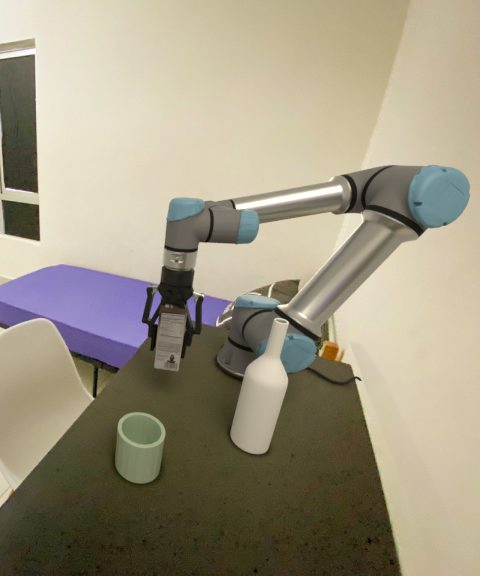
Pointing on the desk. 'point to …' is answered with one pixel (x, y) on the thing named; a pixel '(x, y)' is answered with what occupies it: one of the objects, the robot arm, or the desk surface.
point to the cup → (139, 447)
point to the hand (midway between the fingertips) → (167, 351)
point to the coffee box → (170, 337)
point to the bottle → (261, 395)
